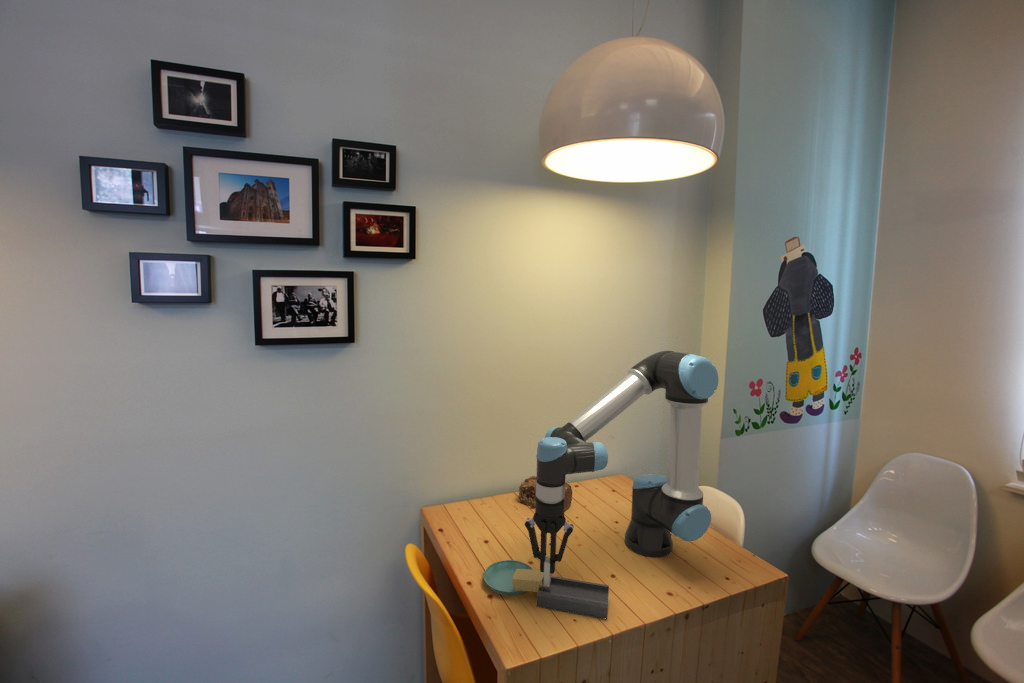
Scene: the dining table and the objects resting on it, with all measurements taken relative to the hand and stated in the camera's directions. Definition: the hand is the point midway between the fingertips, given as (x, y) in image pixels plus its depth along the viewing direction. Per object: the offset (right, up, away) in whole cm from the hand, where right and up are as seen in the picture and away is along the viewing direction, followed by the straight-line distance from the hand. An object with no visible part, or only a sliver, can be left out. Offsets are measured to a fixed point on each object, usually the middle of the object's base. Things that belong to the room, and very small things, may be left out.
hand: (547, 583), depth 122 cm
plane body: (+7, -5, -1) cm, 8 cm away
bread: (+3, 0, +57) cm, 57 cm away
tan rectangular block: (-5, -1, +1) cm, 5 cm away
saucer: (-10, -4, +7) cm, 13 cm away
